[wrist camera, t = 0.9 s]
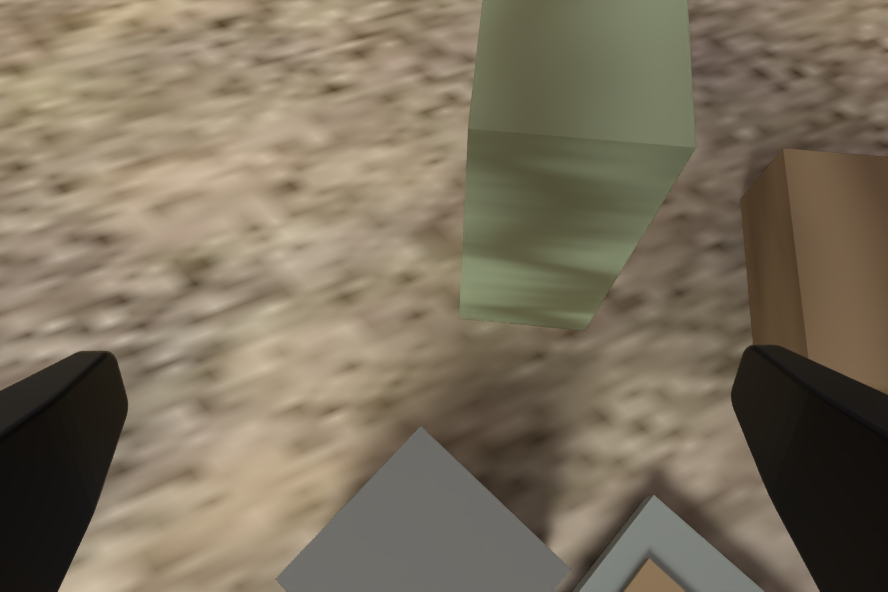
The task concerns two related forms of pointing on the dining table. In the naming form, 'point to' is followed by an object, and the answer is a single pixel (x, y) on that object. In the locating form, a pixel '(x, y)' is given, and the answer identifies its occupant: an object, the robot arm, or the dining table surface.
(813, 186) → the walnut base block
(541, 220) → the sage pillar
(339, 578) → the charcoal cube
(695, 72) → the dining table surface
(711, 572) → the board
